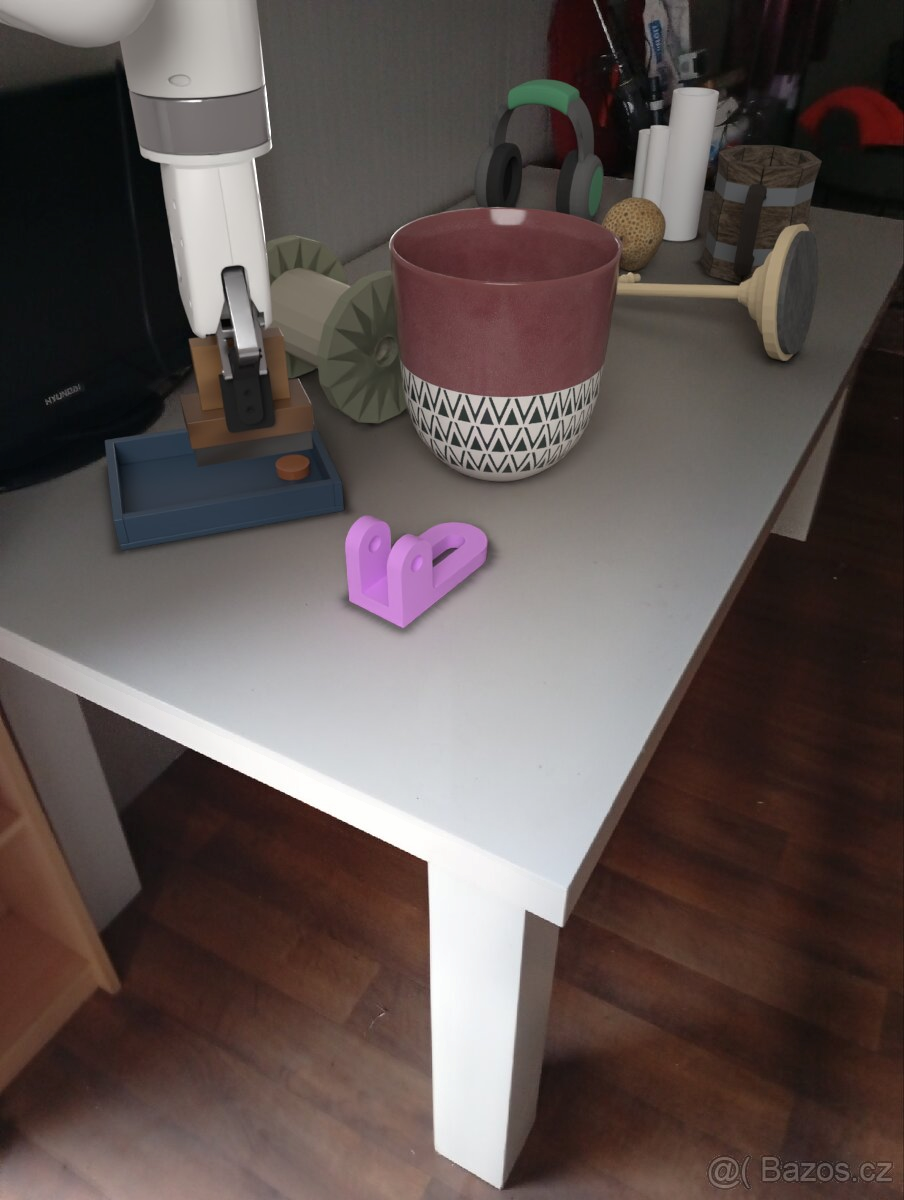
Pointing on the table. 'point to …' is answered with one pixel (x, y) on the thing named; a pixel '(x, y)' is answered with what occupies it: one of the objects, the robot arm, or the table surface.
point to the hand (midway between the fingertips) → (244, 408)
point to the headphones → (504, 162)
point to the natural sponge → (636, 230)
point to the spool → (337, 328)
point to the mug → (755, 206)
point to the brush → (209, 416)
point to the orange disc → (293, 467)
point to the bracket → (408, 566)
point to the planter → (503, 333)
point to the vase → (678, 161)
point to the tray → (208, 489)
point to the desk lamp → (762, 291)
